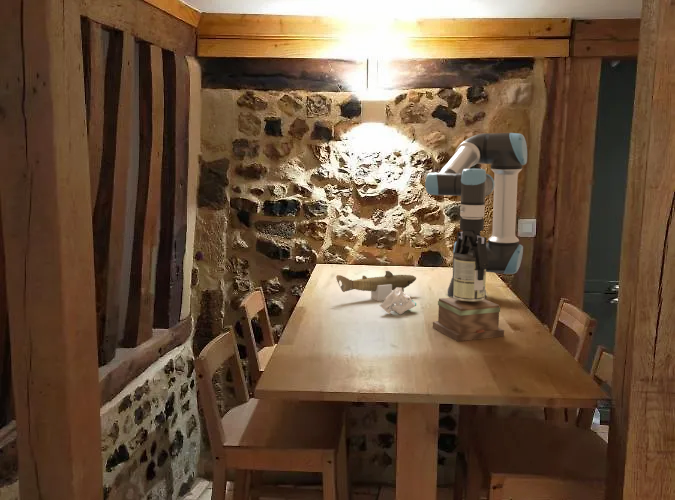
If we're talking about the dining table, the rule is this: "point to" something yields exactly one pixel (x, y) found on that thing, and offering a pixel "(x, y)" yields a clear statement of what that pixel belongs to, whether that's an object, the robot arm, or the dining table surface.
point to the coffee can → (466, 278)
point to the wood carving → (377, 284)
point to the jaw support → (397, 302)
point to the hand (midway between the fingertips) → (469, 286)
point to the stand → (468, 319)
